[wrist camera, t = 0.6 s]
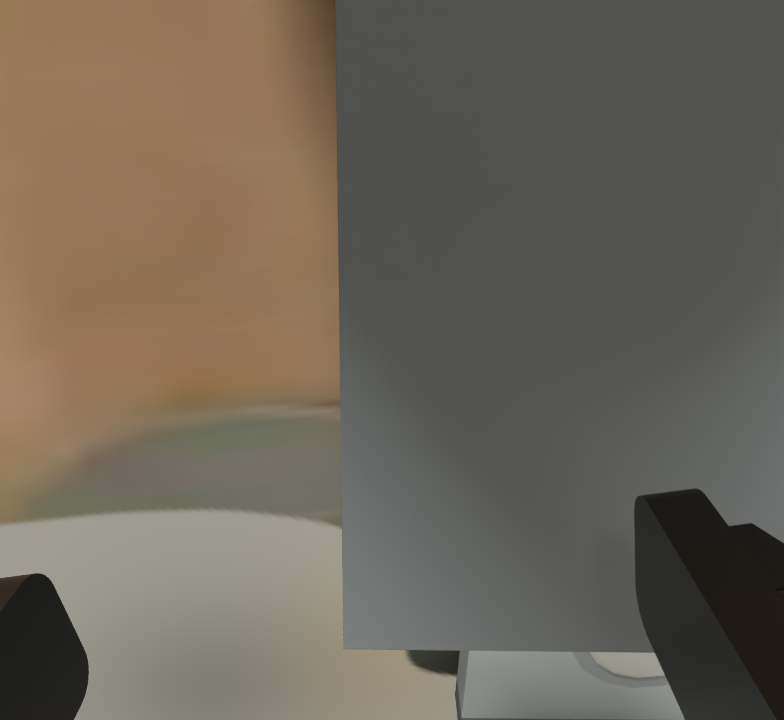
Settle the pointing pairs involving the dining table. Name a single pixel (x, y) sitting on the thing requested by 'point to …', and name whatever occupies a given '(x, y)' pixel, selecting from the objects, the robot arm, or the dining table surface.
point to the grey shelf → (550, 304)
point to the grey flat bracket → (550, 690)
